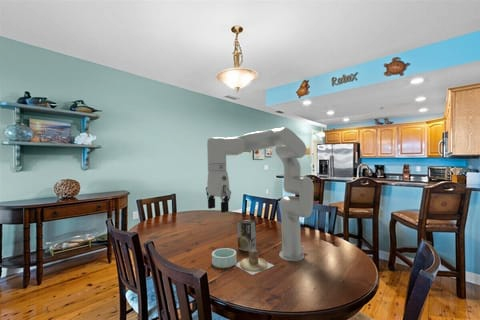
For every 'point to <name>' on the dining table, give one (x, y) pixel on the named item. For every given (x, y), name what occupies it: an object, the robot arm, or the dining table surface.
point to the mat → (254, 271)
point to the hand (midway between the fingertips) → (218, 210)
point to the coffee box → (246, 235)
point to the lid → (253, 262)
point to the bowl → (224, 257)
